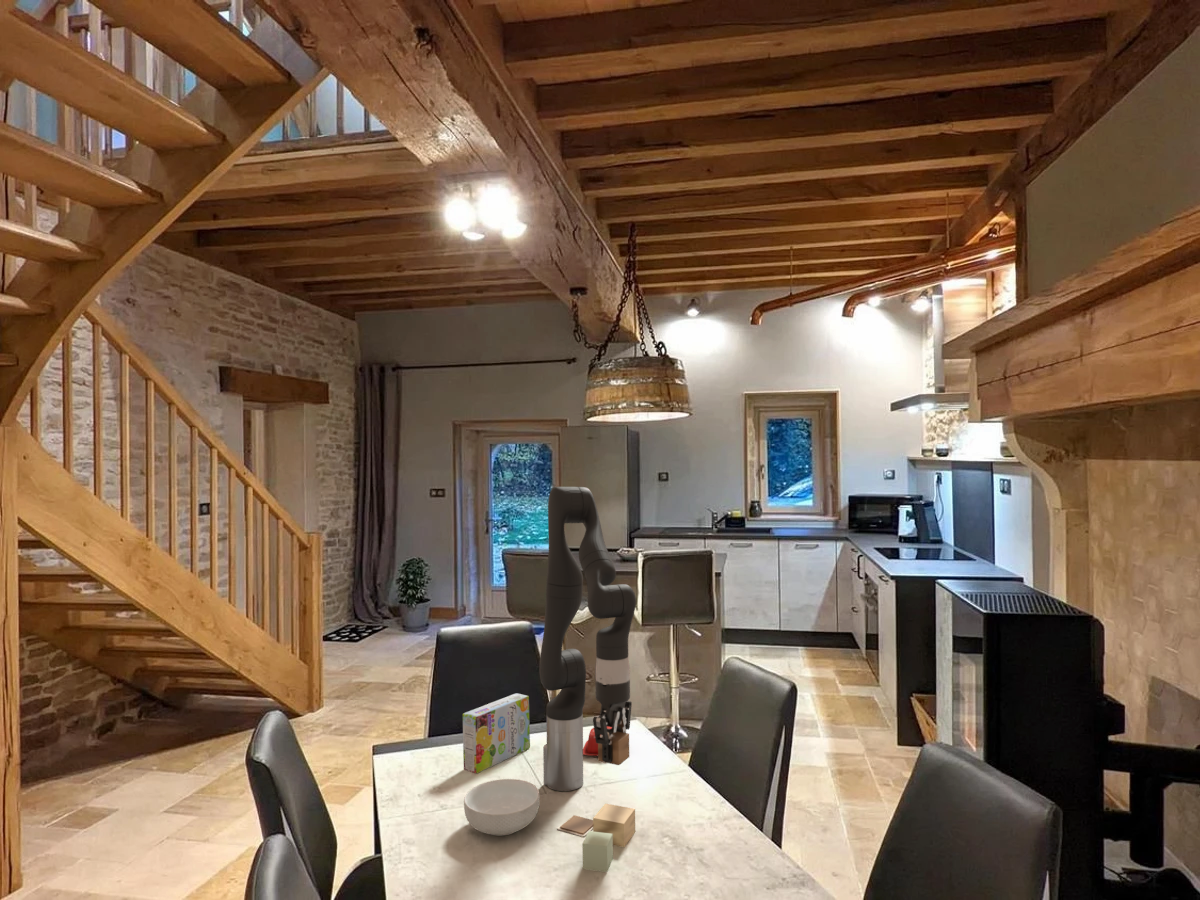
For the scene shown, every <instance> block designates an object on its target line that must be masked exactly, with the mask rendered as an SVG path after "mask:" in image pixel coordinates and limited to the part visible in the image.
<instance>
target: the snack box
mask: <svg viewBox="0 0 1200 900" xmlns="http://www.w3.org/2000/svg"><path fill="white" fill-rule="evenodd" d="M530 731H531V730H530V697H529V695H526V694H521V693H518V692H517V693H513V694H510V695H508V696H506V697H503V698H500V699H497V700H495V701H492V702H489V703H488V704H487V703H486V704H484V705H482V706H480V707H476V708H474V709H471V710H469V711H466V712H464V713H462V744H463V745H462V749H463V750H462V751H463V752H462V753H463V754H462V755H463V770H464V771H468V772H472V773H474V774H479V773H481V772H483V771H485V770H487V769H489V768H491V767H493V766H495V765H497V764H499V763H501V762H503V761H505V760H507V759H510V758H512V757H514V756H516V755H518V754H521V753H523V752H525V751H527V750H529V749H530V748H531V739H530V738H531V735H530V734H531V733H530Z"/></svg>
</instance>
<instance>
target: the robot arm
mask: <svg viewBox="0 0 1200 900" xmlns="http://www.w3.org/2000/svg"><path fill="white" fill-rule="evenodd" d="M596 503H597V502H596V500H595V497H594V494H593V493H592V491H591V490H590V489H589V488H588V487H586V486H585V487H584V486H554V487H553V488H552V489H551V490H550V492H549V495H548V504H547V517H548V518H547V522H548V523H547V524H548V526H547V527H548V528H547V530H548V532H547V533H548V556H547V572H546V585H545V611H544V612H545V614H544V627H543V636H542V640H541V641H542V642H541V648H540V649H541V650H540V656H539V657H540V658H539V665H538V666H539V667H538V668H539V679H540V682H541V684H542V686H543V688H544V689H545V690H546V691H550V692H551V691H553V692H554V691H559V690H560V691H559V692H558V693H557V694H556V696H555V697H553V698H552V699H551V700H549V701H548V702H547V704H546V714H545V715H546V743H545V744H544V745H543V754H542V755H543V756H542V757H543V758H542V760H543V764H542V765H543V785H545V786H547V787H548V788H550V790H554V791H558V792H569V791H575V790H577V789H579V788H581V787H582V786H583V784H584V755H583V748H584V727H583V726H584V724H583V722H584V721H583V720H584V715H583V710H584V706H585V703H586V685H587V684H586V683H587V682H586V681H587V679H586V678H587V669H586V668H587V667H586V662H585V658H584V655H583V653H581V651H580V650H579V649H576V648H568V649H563V645H564V639H565V636H566V633H567V631H568V629H569V628H570V625H571V623H572V622H573V620H574V619H575V617H576V615H577V613H578V612H579V609H580V607H581V605H582V600H583V588H584V587H583V585H584V583H583V582H584V577H585V581H586V589H587V609H588V610H589V613H590V615H592V616H593V617H594V618H595V619H599V620H603V619H613V618H614V621H613V622H612V624H610V625H609V626H606V627H603V628H601V629H599V630H598V631H597V632H596V637H595V644H596V645H595V646H596V647H595V651H596V653H595V655H596V659H595V669H594V670H595V671H594V673H595V675H594V676H595V677H594V679H595V681H594V682H595V685H594V686H595V700H597V701H598V702H599V703H600V704H601V705H600V711H599V713H600V714H599V715H598V716H594V717H593V719H592V724H593V728H594V732H595V739H596V743H598V744H602V760H603V761H604V762H603V763H605V762H608V763H607V764H610V763H611V762H612V761H613V744H612V742H613V735H614V734H615V733H616V731H617V732H623V733H627V730H629V729H630V727H631V715H632V701H631V700H630V699H631V670H630V669H631V667H630V658H629V635H630V630H631V627H632V623H633V618H634V615H635V611H636V606H637V599H636V594H635V591H634V589H633V588H632V587H631V586H630V585H628V584H626V583H625V584H623V583H622V584H619V583H618V584H612V583H614V581H616V580H615V579H616V577H617V570H616V567H615V565H614V563H613V560H612V558H611V556H610V554H609V550H608V549H607V546H606V543H605V538H604V535H603V529H602V526H601V520H600V516H599V512H598V508H597V504H596ZM566 524H582V525H583V526H584V527H585V531H584V535H583V538H582V540H581V542H580V545H579V549H578V560H579V563H580V564H578V561H577V560H576V558H575V556H574V555H573V553H572V552H571V551H572V550H571V549H570V547H569V545H568V543H567V539H566V533H565V525H566ZM581 569H582V570H581ZM582 571H583V572H582ZM583 574H584V575H583ZM607 726H608V727H612V728H611V729H607ZM607 732H608V733H609V739H608V733H607ZM600 735H601V737H600Z"/></svg>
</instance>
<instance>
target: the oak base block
mask: <svg viewBox="0 0 1200 900" xmlns="http://www.w3.org/2000/svg"><path fill="white" fill-rule="evenodd" d="M593 816H594V817H593V818H592V820H593V829H592V831H593V832H602V833H611V834H613V846H616V847H621V848H625V847H626V846H627V844H628V843H629V841H630V840H631V838H632V837H633V836H634V834H635V832H636V808H633V807H627V806H622V805H617V804H610V803H604V804H603V806H602V807H601V808H600V809H599V811H598V812H597V813H596V814H595V815H593Z"/></svg>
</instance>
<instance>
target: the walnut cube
mask: <svg viewBox="0 0 1200 900" xmlns="http://www.w3.org/2000/svg"><path fill="white" fill-rule="evenodd" d="M607 733H608V732H607ZM600 737H601V736H600ZM608 739H609V733H608ZM612 744H613V761H612V762H611V763H608V762H604V761H603V760H602V744H598V756H597V759H598V762H603V763H605V764H611V765H616V766H620V765H621V764H623V763H624V762H625V761H626V760H627V759H629V758H630V733H628V732H626V733H623V732H617V731H616V733H615V734H614V735H613V742H612Z"/></svg>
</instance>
